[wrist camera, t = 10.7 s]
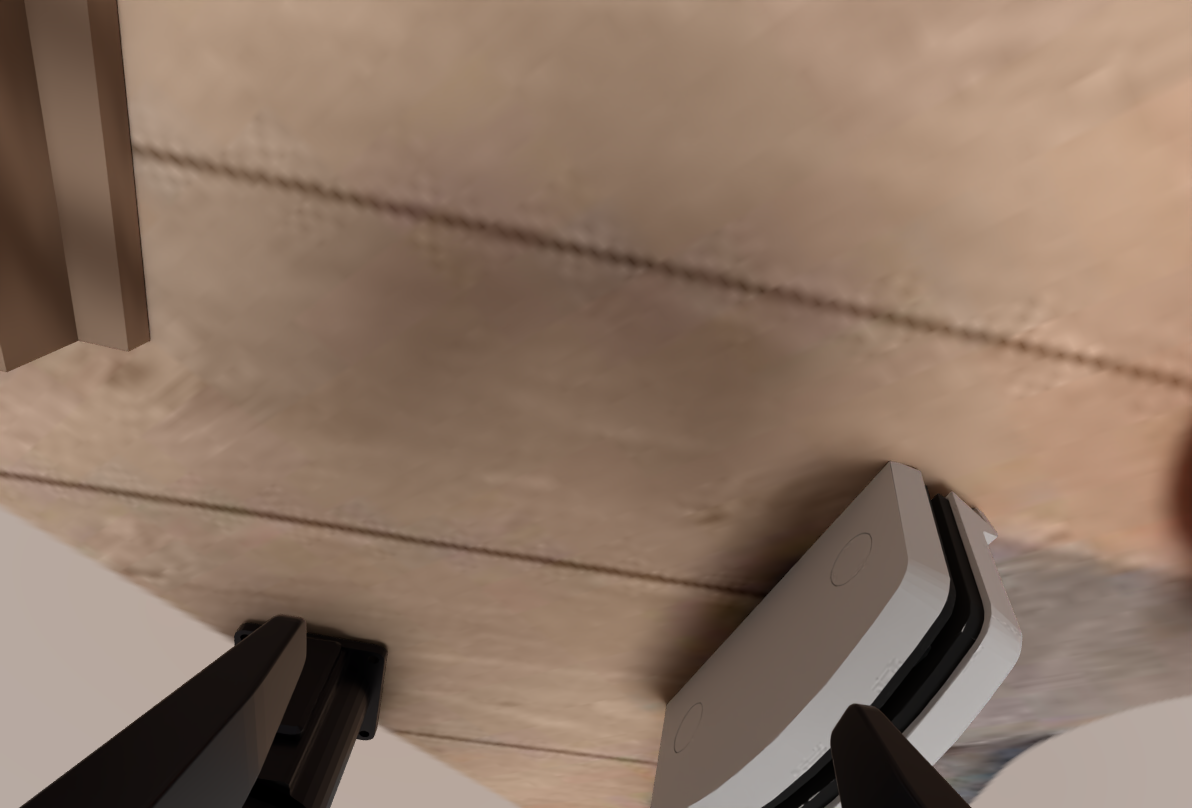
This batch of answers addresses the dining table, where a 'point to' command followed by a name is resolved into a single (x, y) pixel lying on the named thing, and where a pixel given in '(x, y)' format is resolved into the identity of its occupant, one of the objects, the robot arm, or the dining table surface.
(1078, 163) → the dining table surface
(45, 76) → the walnut ledge
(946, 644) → the grey two-tone curved device
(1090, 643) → the dining table surface
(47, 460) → the dining table surface
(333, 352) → the dining table surface
